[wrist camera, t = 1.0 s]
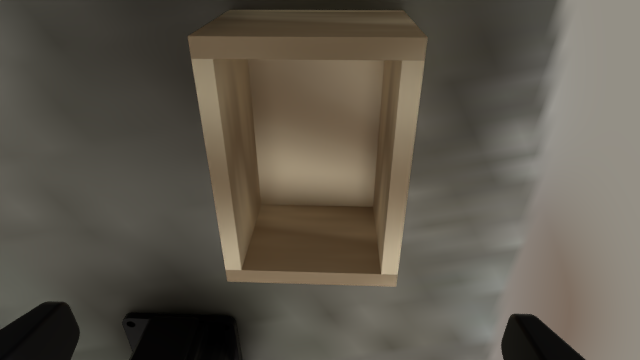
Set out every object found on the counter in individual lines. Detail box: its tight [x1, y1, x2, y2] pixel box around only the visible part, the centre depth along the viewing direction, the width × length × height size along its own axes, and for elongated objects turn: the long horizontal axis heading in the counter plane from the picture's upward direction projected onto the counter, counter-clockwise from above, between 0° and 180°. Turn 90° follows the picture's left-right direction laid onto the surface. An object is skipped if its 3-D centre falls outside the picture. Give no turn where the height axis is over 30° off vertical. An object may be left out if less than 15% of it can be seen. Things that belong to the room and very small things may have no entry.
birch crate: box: [188, 10, 428, 287], centre depth 15 cm, size 9×6×5 cm
